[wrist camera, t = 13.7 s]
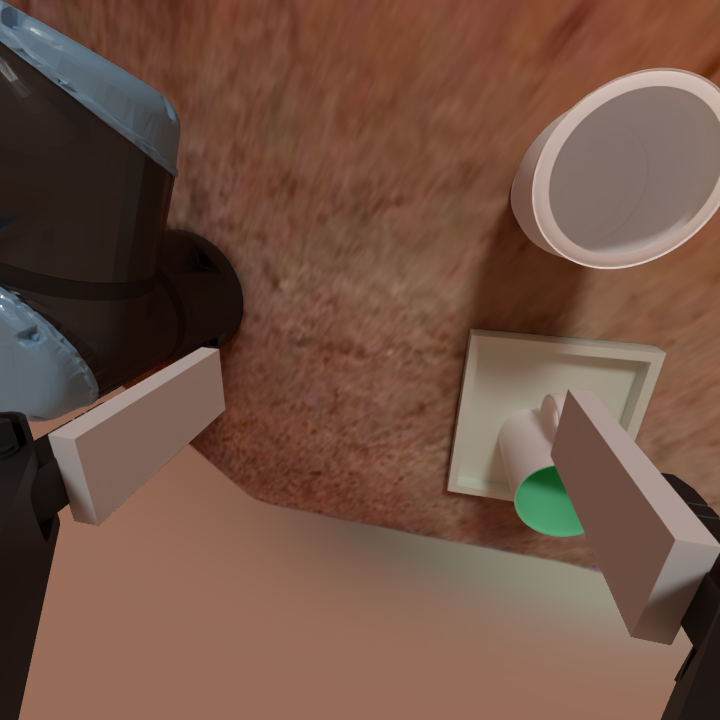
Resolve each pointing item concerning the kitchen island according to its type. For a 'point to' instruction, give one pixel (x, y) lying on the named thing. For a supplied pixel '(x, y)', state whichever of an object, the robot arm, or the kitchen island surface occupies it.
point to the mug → (537, 469)
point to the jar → (624, 171)
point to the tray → (538, 393)
